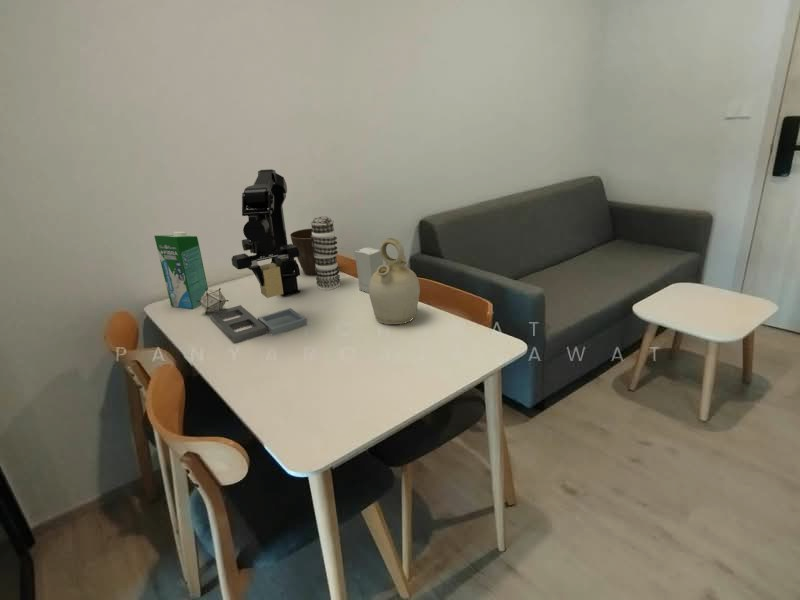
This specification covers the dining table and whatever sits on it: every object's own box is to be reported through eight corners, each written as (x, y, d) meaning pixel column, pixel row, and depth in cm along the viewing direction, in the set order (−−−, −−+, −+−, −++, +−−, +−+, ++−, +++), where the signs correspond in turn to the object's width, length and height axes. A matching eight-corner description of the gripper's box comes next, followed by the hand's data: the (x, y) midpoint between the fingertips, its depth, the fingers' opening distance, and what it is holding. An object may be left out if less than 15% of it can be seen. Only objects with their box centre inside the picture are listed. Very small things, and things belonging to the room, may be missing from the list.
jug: (393, 332, 140) (388, 249, 130) (360, 317, 151) (354, 239, 141) (431, 316, 149) (429, 237, 140) (397, 303, 160) (394, 228, 151)
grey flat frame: (241, 310, 160) (240, 305, 159) (267, 333, 143) (266, 327, 142) (210, 319, 154) (209, 313, 154) (234, 343, 138) (232, 337, 137)
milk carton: (210, 299, 171) (196, 229, 161) (192, 309, 163) (176, 236, 153) (189, 297, 174) (174, 228, 164) (171, 306, 166) (153, 235, 156)
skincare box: (386, 290, 171) (383, 250, 165) (373, 295, 167) (370, 254, 161) (370, 285, 177) (367, 245, 171) (357, 290, 173) (354, 249, 167)
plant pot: (337, 266, 199) (333, 227, 193) (328, 278, 185) (324, 238, 179) (301, 266, 200) (296, 228, 194) (290, 279, 187) (285, 238, 181)
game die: (222, 320, 163) (237, 294, 162) (210, 322, 154) (225, 295, 153) (201, 306, 163) (215, 280, 162) (187, 307, 155) (202, 280, 154)
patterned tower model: (311, 285, 179) (303, 218, 169) (332, 279, 184) (325, 214, 175) (324, 292, 172) (317, 222, 163) (346, 285, 178) (340, 217, 168)
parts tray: (291, 313, 156) (290, 308, 155) (306, 324, 148) (306, 318, 147) (258, 323, 150) (257, 317, 149) (272, 335, 142) (271, 329, 141)
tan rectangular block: (277, 289, 148) (273, 262, 145) (283, 293, 144) (279, 266, 141) (261, 293, 146) (256, 266, 143) (267, 298, 142) (262, 270, 139)
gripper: (282, 222, 149) (289, 270, 155) (221, 233, 139) (230, 284, 145) (297, 228, 141) (304, 279, 146) (233, 240, 131) (243, 294, 137)
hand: (270, 284), depth 144 cm, fingers closed on tan rectangular block, 5 cm apart
